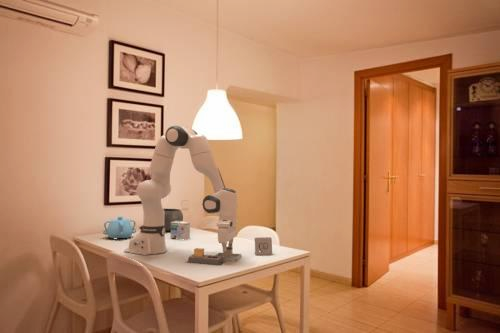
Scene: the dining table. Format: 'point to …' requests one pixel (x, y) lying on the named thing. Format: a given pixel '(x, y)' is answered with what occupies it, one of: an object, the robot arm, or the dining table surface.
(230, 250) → the fuse
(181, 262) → the dining table surface
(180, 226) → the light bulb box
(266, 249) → the electrical switch
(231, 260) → the parts tray
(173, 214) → the dark gray rounded block
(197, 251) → the fuse
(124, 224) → the decorative pot
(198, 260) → the fuse block
